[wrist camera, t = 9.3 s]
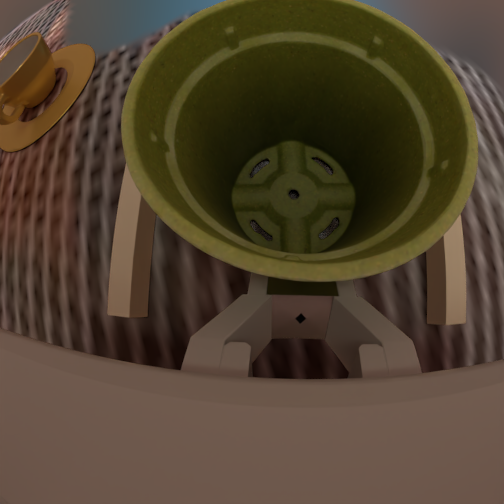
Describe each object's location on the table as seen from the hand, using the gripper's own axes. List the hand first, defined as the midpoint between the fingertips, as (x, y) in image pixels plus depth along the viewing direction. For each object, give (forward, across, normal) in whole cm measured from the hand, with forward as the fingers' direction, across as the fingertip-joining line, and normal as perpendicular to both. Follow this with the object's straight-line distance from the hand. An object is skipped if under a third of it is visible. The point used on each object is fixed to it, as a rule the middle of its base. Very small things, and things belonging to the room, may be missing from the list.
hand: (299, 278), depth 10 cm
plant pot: (+6, 0, 0) cm, 6 cm away
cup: (+14, +21, -8) cm, 27 cm away
